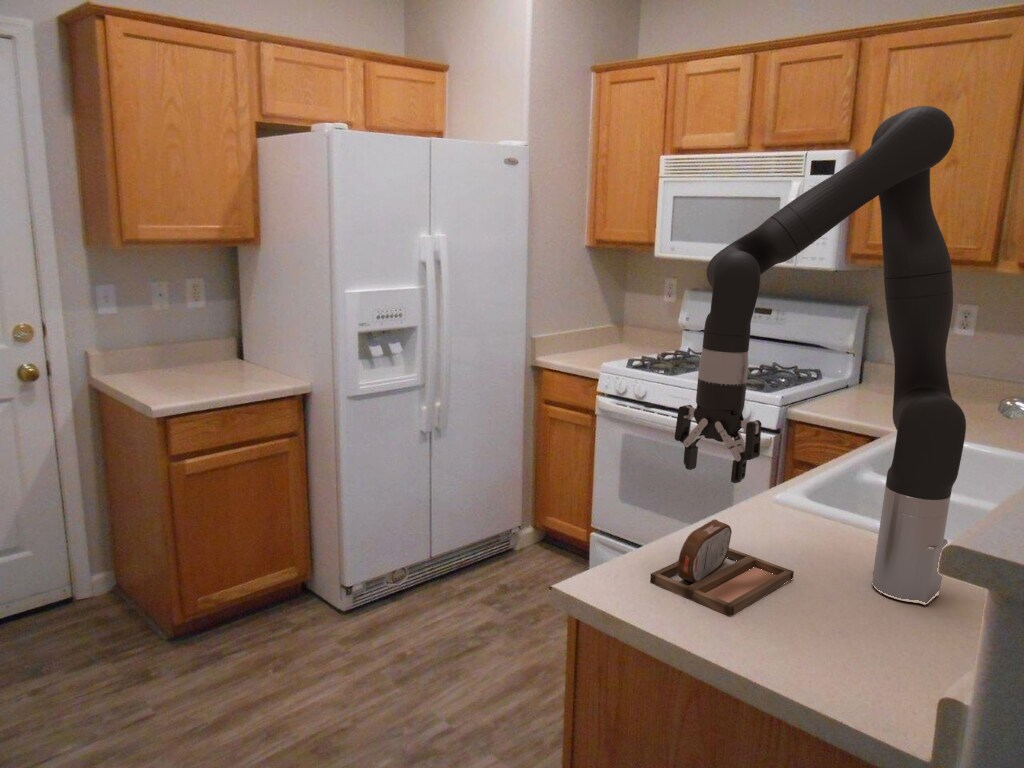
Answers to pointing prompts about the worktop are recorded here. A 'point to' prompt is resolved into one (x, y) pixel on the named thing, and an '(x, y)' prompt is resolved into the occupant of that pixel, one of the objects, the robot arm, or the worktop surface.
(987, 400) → the worktop surface
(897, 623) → the worktop surface
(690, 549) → the tin
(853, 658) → the worktop surface
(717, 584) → the rack
